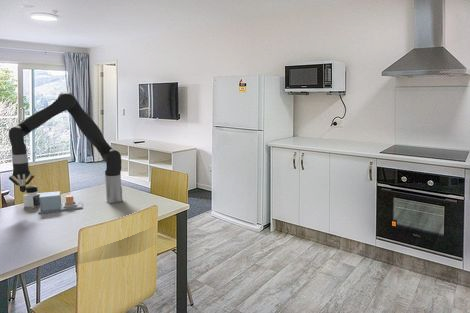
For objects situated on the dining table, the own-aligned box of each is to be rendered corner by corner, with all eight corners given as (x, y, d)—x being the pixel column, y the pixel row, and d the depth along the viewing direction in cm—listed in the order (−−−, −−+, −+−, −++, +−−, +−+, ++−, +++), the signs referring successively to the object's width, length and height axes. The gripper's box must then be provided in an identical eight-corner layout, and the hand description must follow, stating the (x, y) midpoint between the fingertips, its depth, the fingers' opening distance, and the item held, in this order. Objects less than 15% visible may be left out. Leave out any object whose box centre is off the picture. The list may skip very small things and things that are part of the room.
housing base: (81, 203, 222) (81, 199, 221) (82, 208, 211) (82, 205, 211) (40, 207, 212) (39, 204, 212) (38, 213, 201) (38, 210, 201)
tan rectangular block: (73, 204, 216) (73, 194, 215) (73, 206, 213) (73, 196, 212) (66, 205, 214) (65, 195, 213) (66, 207, 211) (65, 197, 210)
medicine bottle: (34, 207, 213) (32, 188, 211) (23, 206, 214) (21, 187, 212) (42, 204, 220) (40, 185, 218) (32, 203, 221) (30, 184, 219)
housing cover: (61, 204, 216) (60, 191, 214) (60, 208, 207) (59, 195, 206) (41, 206, 211) (40, 193, 210) (40, 211, 203) (39, 197, 201)
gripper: (5, 163, 193) (8, 194, 196) (33, 162, 198) (36, 192, 201) (7, 161, 200) (10, 191, 202) (34, 160, 205) (37, 189, 208)
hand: (23, 191), depth 202 cm, fingers closed
